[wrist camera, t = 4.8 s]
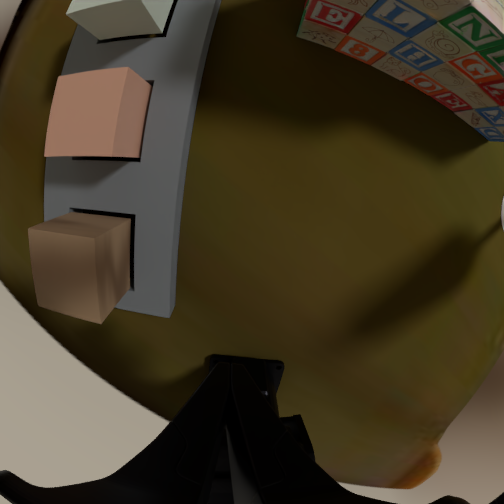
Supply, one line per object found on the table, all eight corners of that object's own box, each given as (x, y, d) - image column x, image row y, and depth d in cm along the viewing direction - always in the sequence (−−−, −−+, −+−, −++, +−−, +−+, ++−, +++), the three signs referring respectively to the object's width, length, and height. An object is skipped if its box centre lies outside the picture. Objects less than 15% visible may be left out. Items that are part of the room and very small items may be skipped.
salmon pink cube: (143, 158, 17) (111, 156, 12) (84, 155, 16) (44, 156, 12) (155, 89, 15) (128, 66, 11) (95, 91, 15) (58, 76, 10)
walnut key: (130, 287, 18) (101, 324, 13) (74, 276, 18) (38, 305, 13) (130, 218, 17) (94, 238, 12) (71, 212, 16) (28, 228, 11)
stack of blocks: (491, 92, 16) (575, 86, 4) (488, 142, 17) (582, 152, 6) (307, -13, 13) (352, -108, 2) (292, 38, 15) (344, -70, 3)
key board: (174, 305, 21) (169, 318, 19) (62, 282, 20) (50, 291, 18) (227, -18, 13) (226, -32, 11) (105, -8, 12) (97, -17, 10)
